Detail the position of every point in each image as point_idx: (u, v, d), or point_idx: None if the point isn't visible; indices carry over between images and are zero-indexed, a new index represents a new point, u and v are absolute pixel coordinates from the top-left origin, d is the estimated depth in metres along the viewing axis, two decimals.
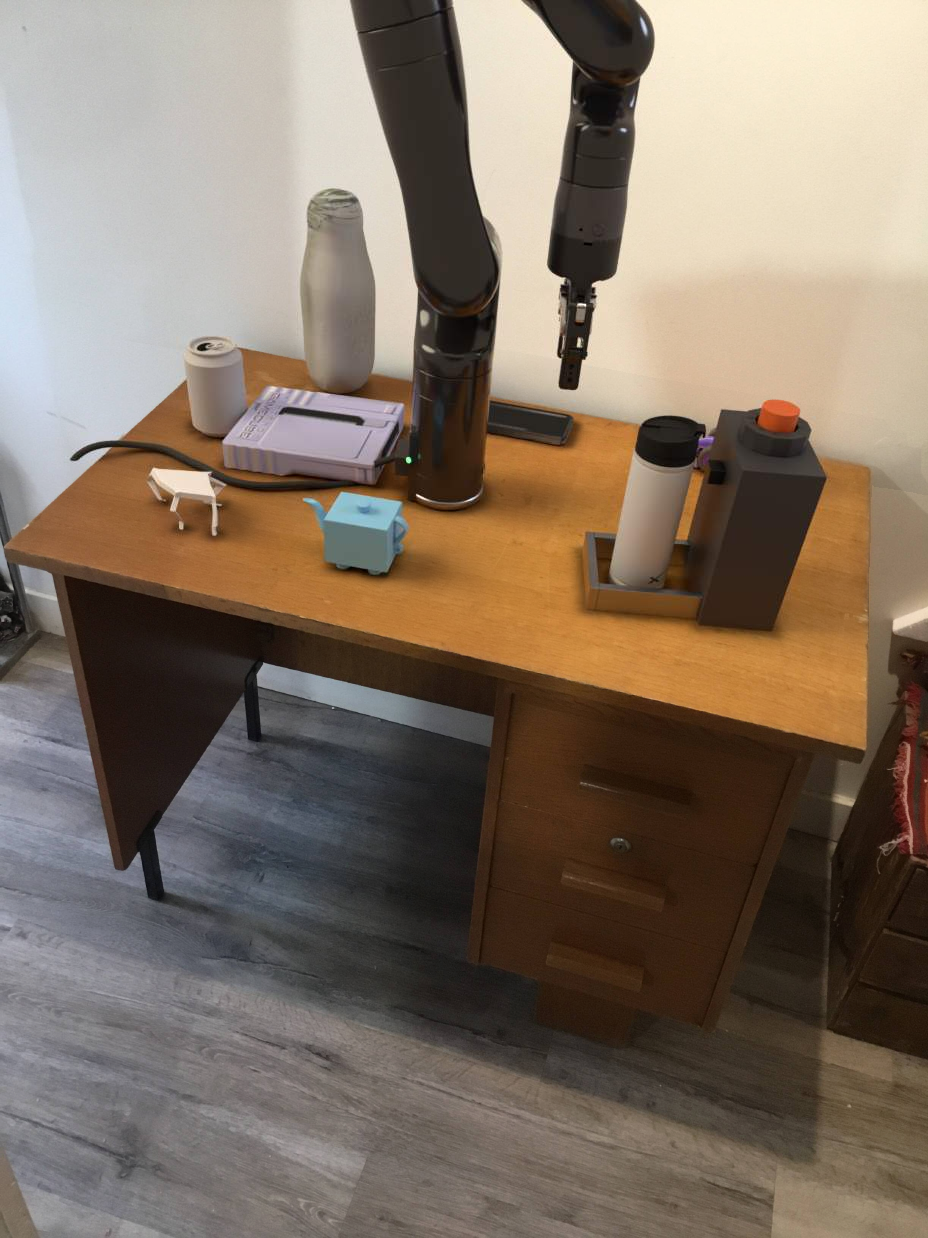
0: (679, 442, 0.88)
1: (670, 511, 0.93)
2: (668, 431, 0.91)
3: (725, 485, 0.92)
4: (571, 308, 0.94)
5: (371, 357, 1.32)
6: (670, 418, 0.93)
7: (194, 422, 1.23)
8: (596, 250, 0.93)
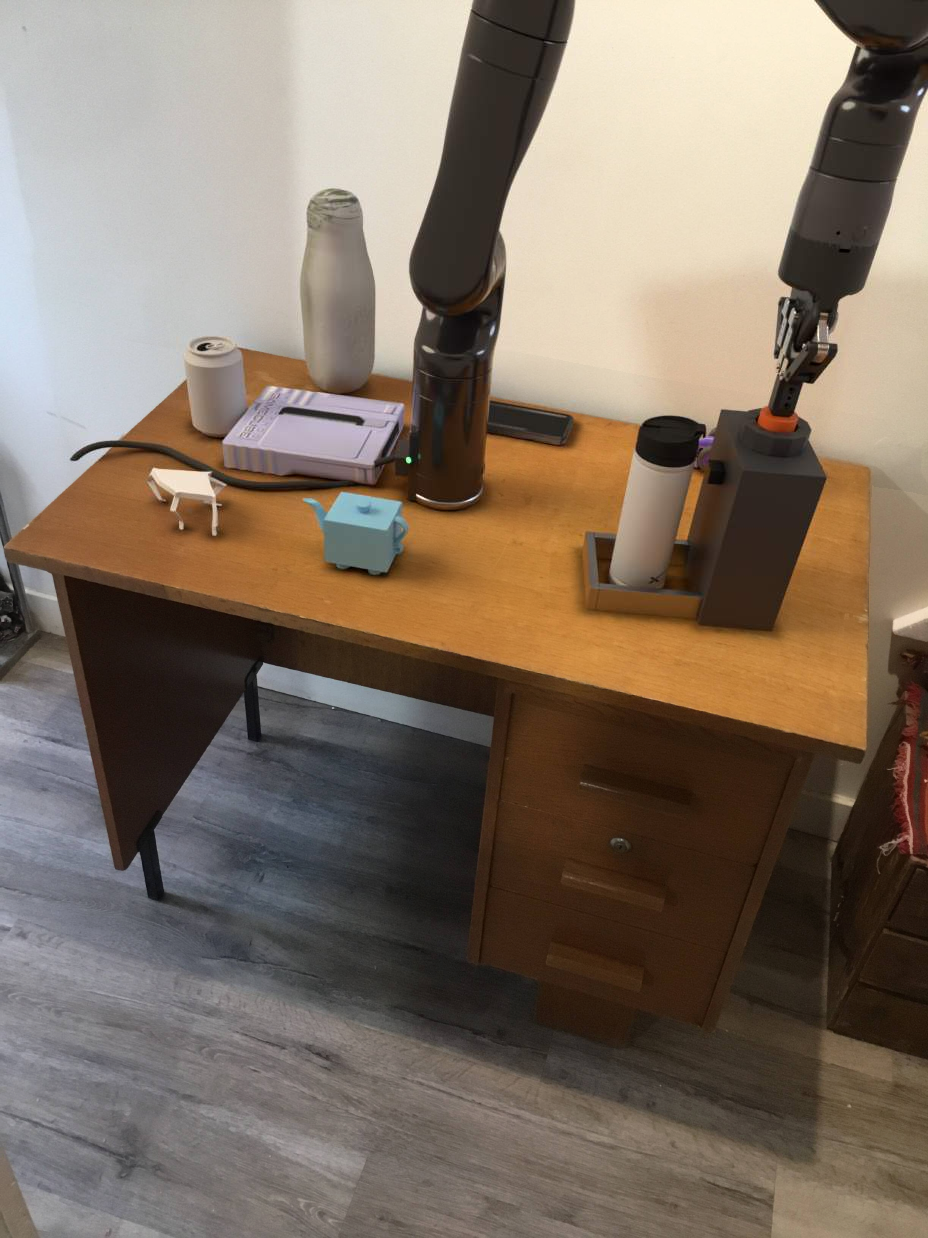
0: (679, 442, 0.88)
1: (670, 511, 0.93)
2: (668, 431, 0.91)
3: (725, 485, 0.92)
4: (809, 354, 0.79)
5: (371, 357, 1.32)
6: (670, 418, 0.93)
7: (194, 422, 1.23)
8: (853, 258, 0.76)
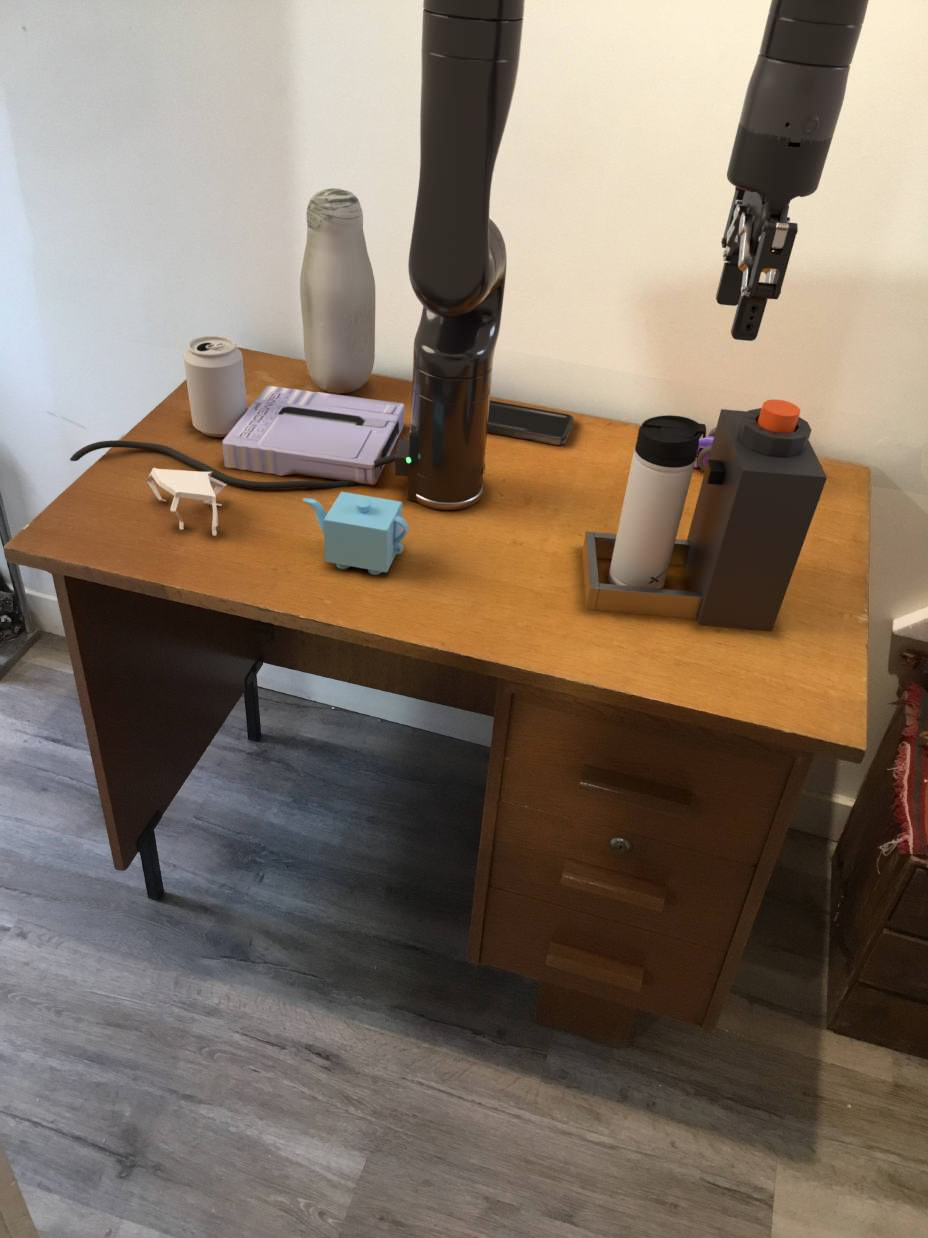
0: (679, 442, 0.88)
1: (670, 511, 0.93)
2: (668, 431, 0.91)
3: (725, 485, 0.92)
4: (768, 229, 0.72)
5: (371, 357, 1.32)
6: (670, 418, 0.93)
7: (194, 422, 1.23)
8: (803, 153, 0.72)
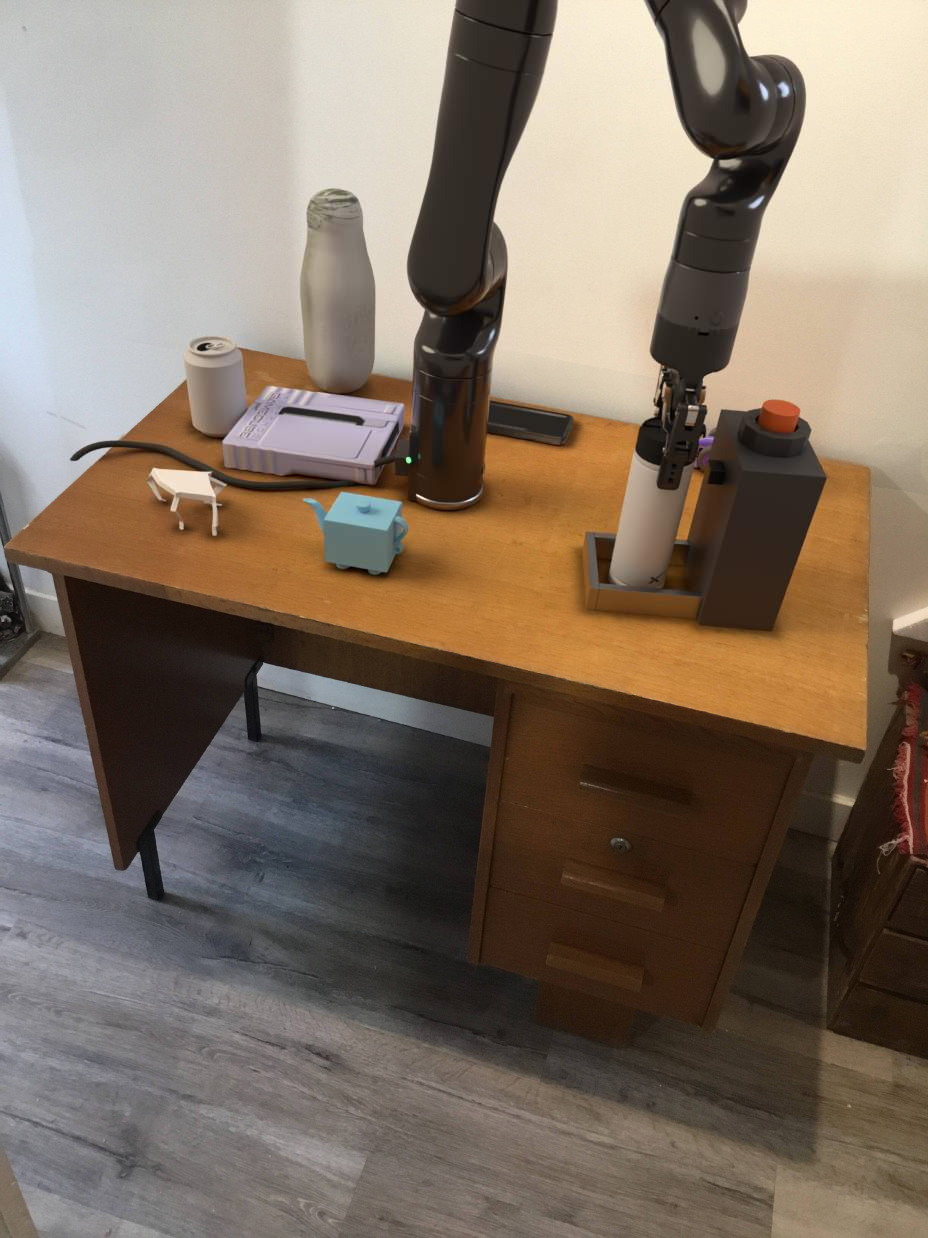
0: (679, 442, 0.88)
1: (670, 511, 0.93)
2: None
3: (725, 485, 0.92)
4: (681, 412, 0.82)
5: (371, 357, 1.32)
6: (670, 418, 0.93)
7: (194, 422, 1.23)
8: (712, 340, 0.81)
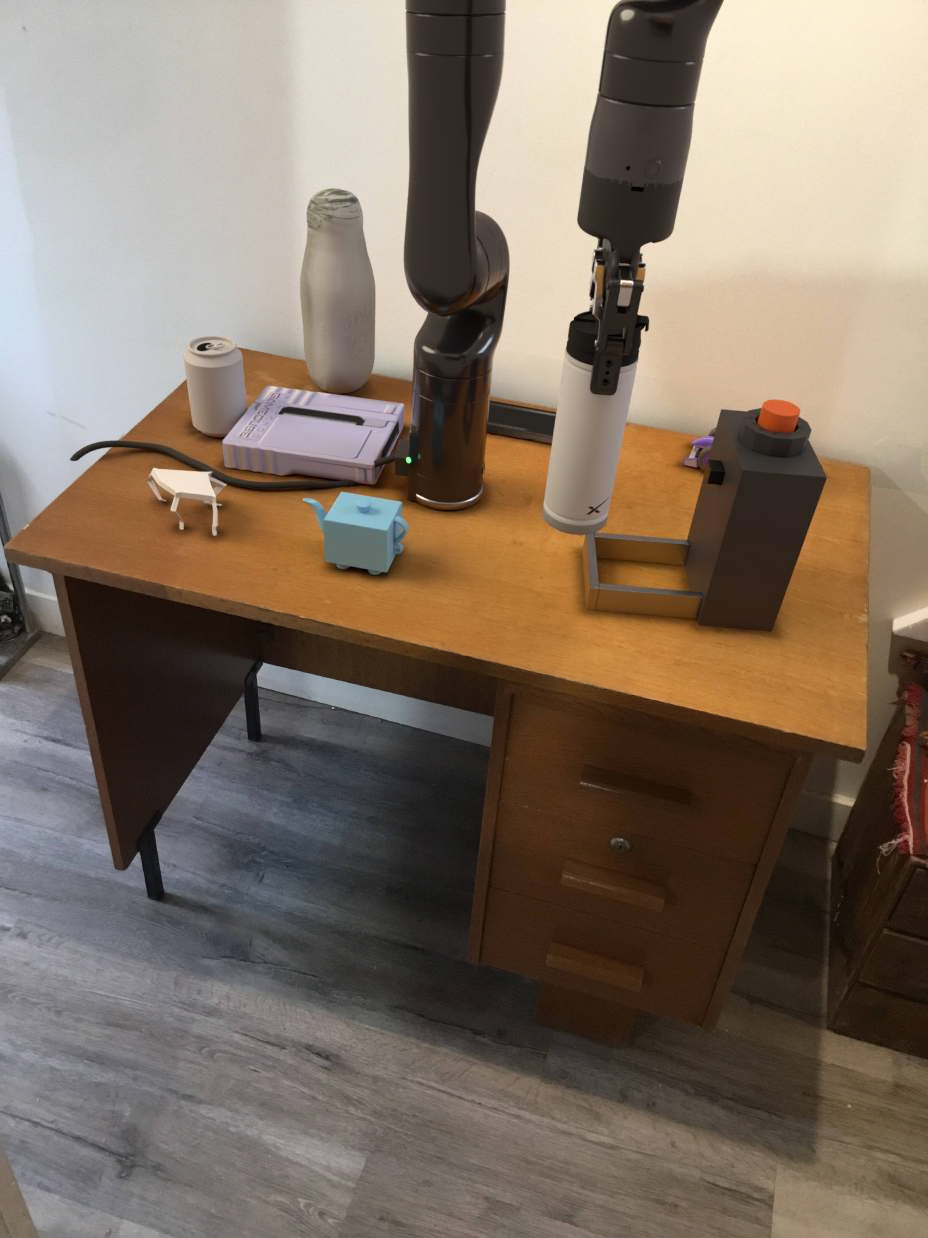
0: (616, 334, 0.73)
1: (609, 423, 0.78)
2: None
3: (725, 485, 0.92)
4: (612, 288, 0.67)
5: (371, 357, 1.32)
6: None
7: (194, 422, 1.23)
8: (649, 198, 0.66)
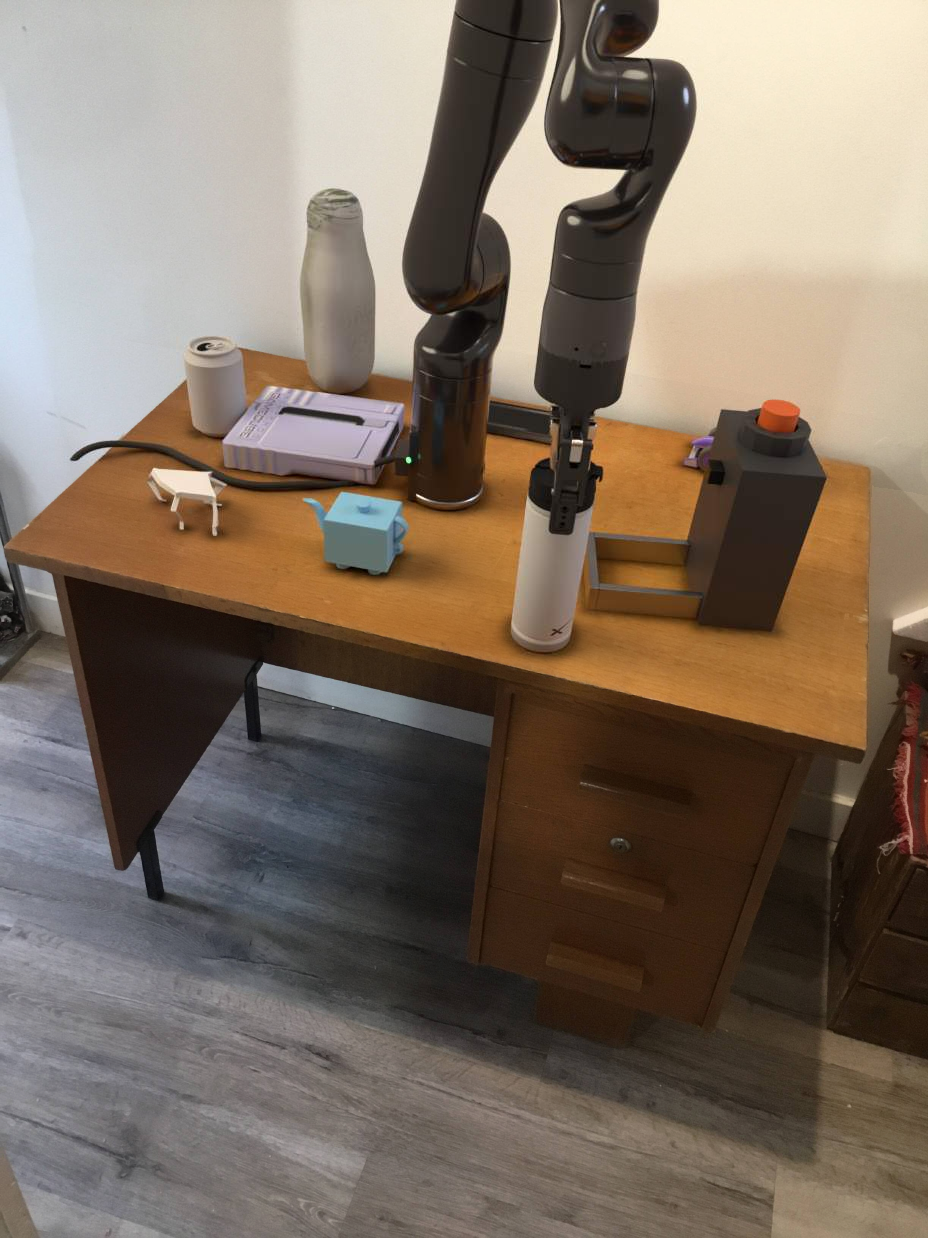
0: None
1: (567, 560, 0.85)
2: None
3: (725, 485, 0.92)
4: (564, 446, 0.73)
5: (371, 357, 1.32)
6: None
7: (194, 422, 1.23)
8: (596, 374, 0.73)
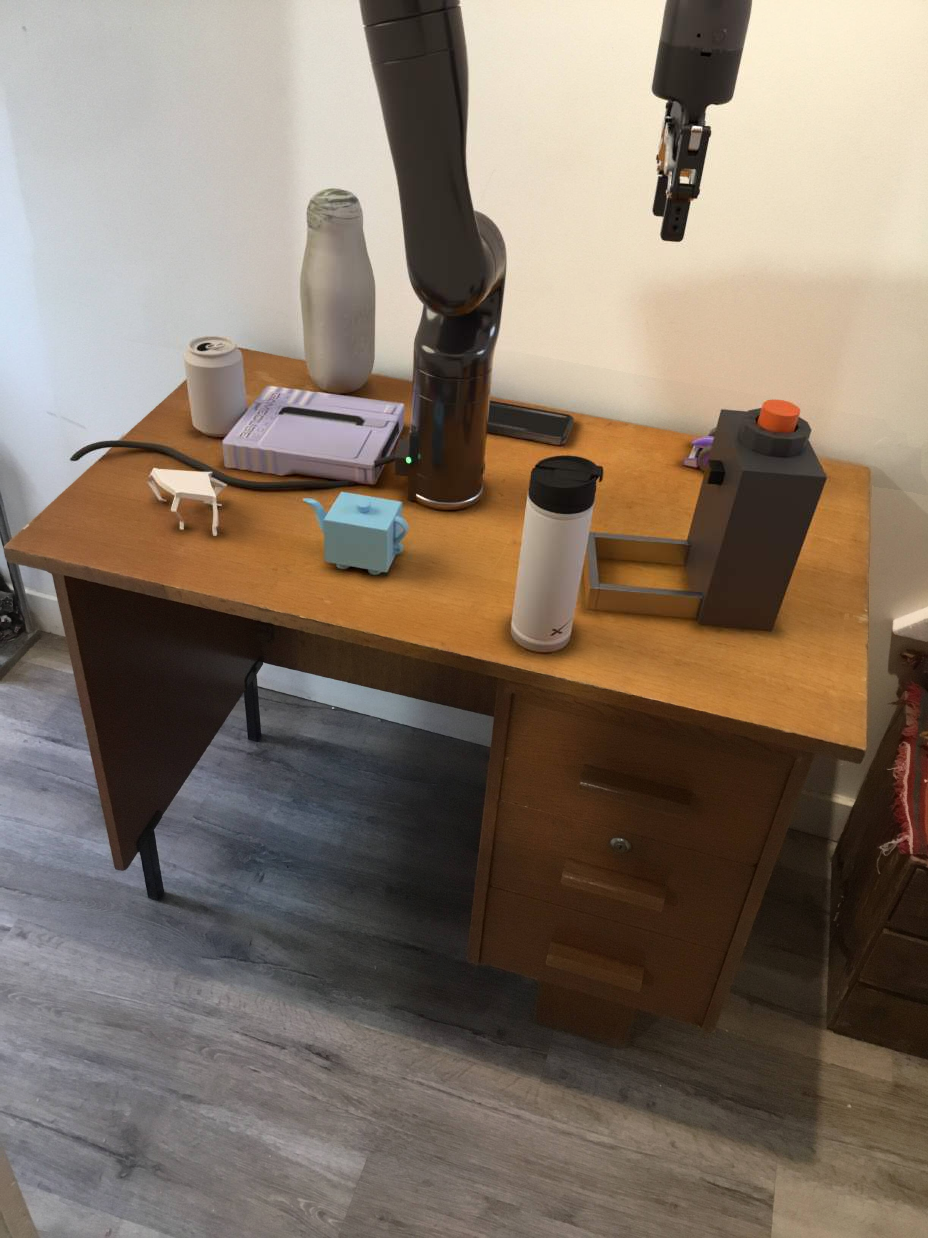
0: (571, 487, 0.80)
1: (568, 560, 0.85)
2: (562, 473, 0.83)
3: (725, 485, 0.92)
4: (684, 131, 0.80)
5: (371, 357, 1.32)
6: (567, 458, 0.85)
7: (194, 422, 1.23)
8: (715, 62, 0.80)
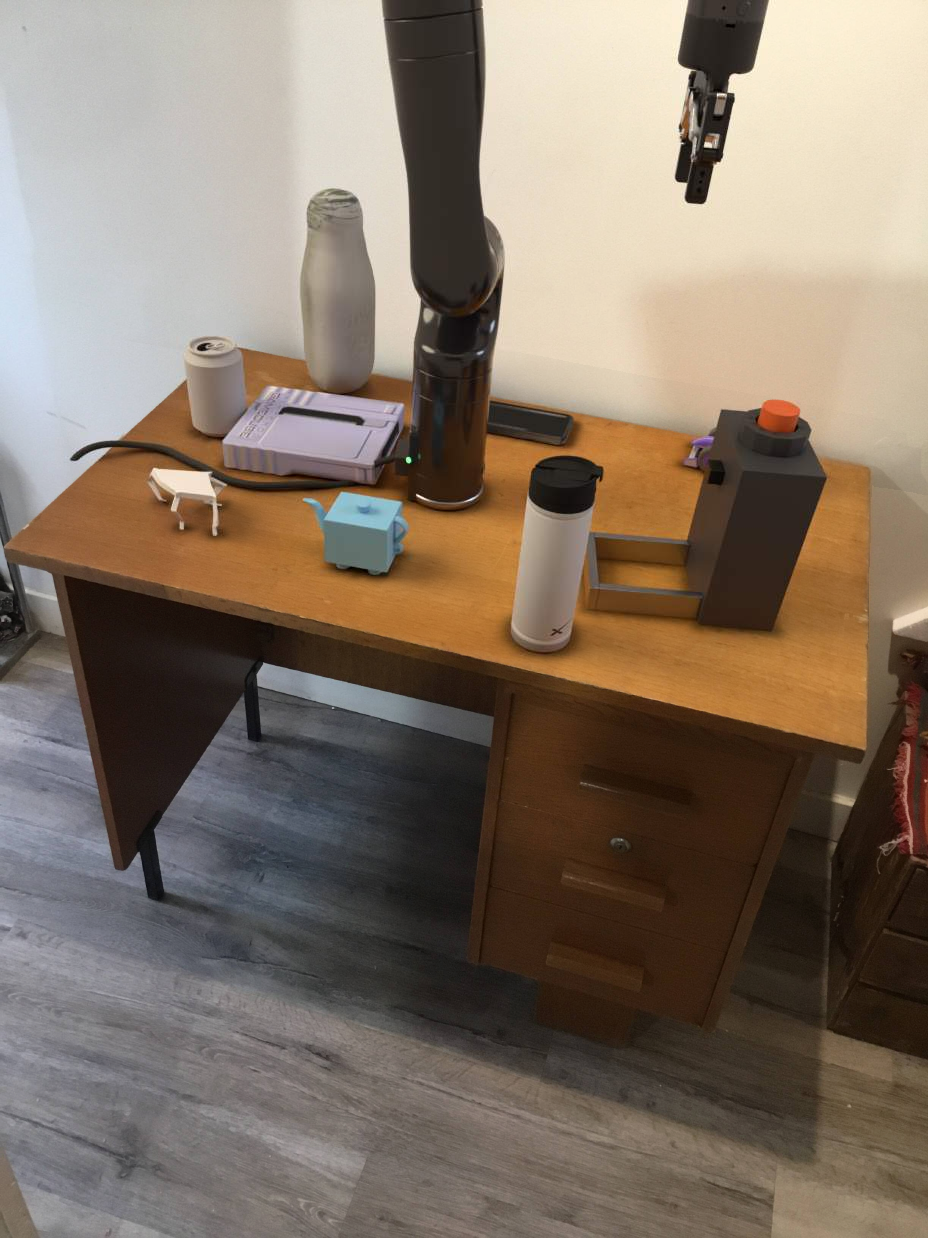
0: (571, 487, 0.80)
1: (568, 560, 0.85)
2: (562, 473, 0.83)
3: (725, 485, 0.92)
4: (710, 98, 0.86)
5: (371, 357, 1.32)
6: (567, 458, 0.85)
7: (194, 422, 1.23)
8: (738, 33, 0.86)
